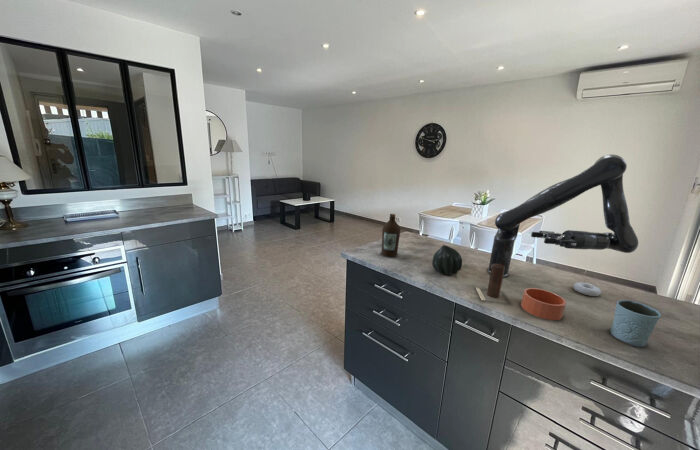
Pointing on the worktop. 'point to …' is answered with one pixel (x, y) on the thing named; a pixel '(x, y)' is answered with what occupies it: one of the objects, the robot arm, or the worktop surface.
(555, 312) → the pot
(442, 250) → the squash
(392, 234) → the olive oil
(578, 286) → the donut
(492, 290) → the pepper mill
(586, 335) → the worktop surface
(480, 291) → the cloth
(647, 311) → the blue embossed planter
